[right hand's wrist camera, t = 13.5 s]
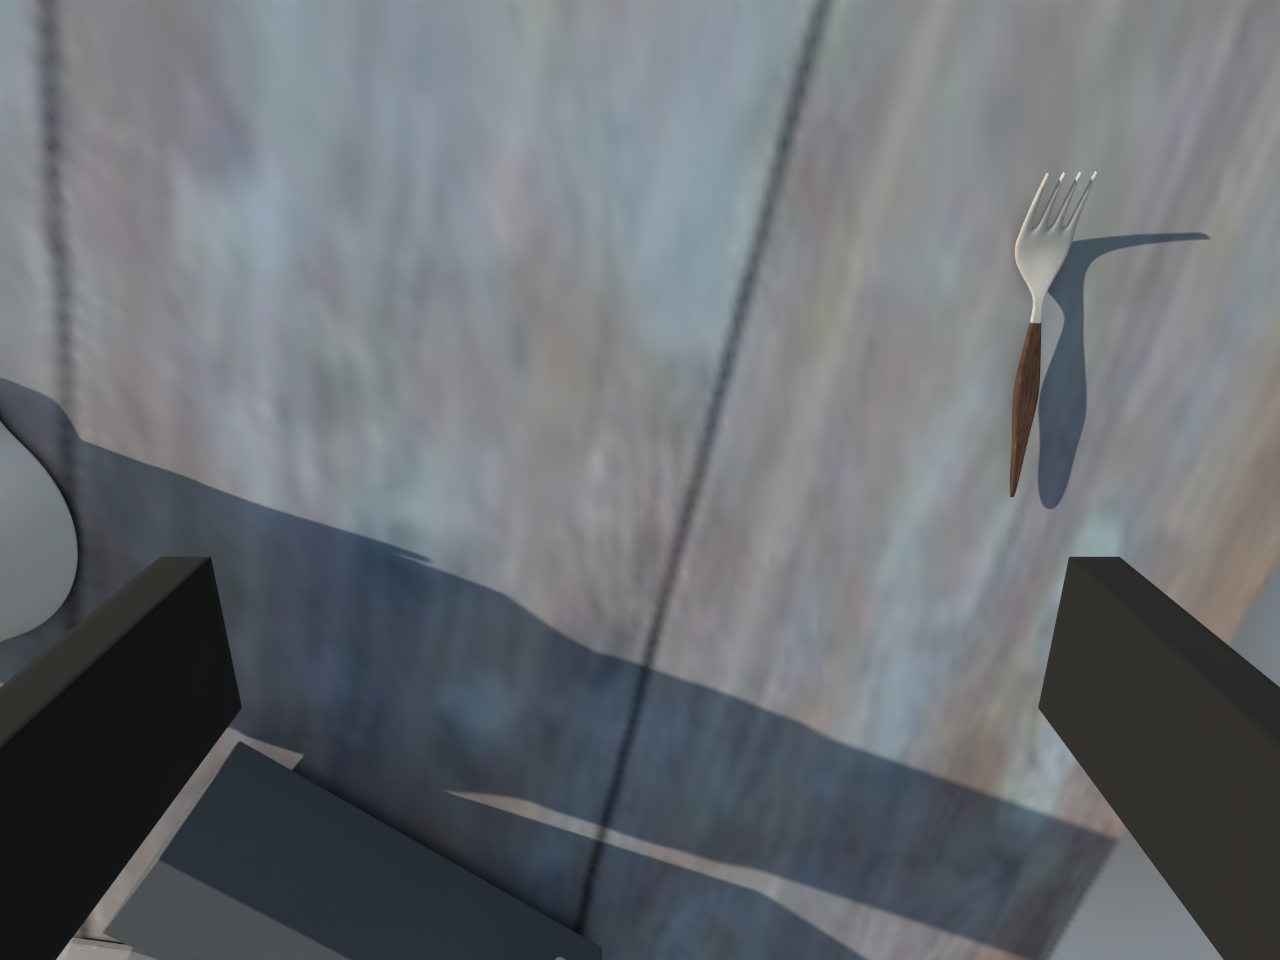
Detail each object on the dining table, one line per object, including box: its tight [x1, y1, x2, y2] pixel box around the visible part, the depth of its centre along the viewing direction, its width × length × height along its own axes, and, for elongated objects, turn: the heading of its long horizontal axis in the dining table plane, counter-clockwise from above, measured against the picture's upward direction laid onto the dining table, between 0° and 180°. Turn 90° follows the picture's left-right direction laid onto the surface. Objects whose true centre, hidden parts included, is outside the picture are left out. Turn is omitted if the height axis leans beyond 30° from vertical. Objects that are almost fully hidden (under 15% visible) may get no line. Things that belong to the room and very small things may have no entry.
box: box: [103, 741, 602, 960], centre depth 48 cm, size 27×6×9 cm, turn 52°
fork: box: [1010, 172, 1098, 497], centre depth 40 cm, size 3×16×2 cm, turn 2°
